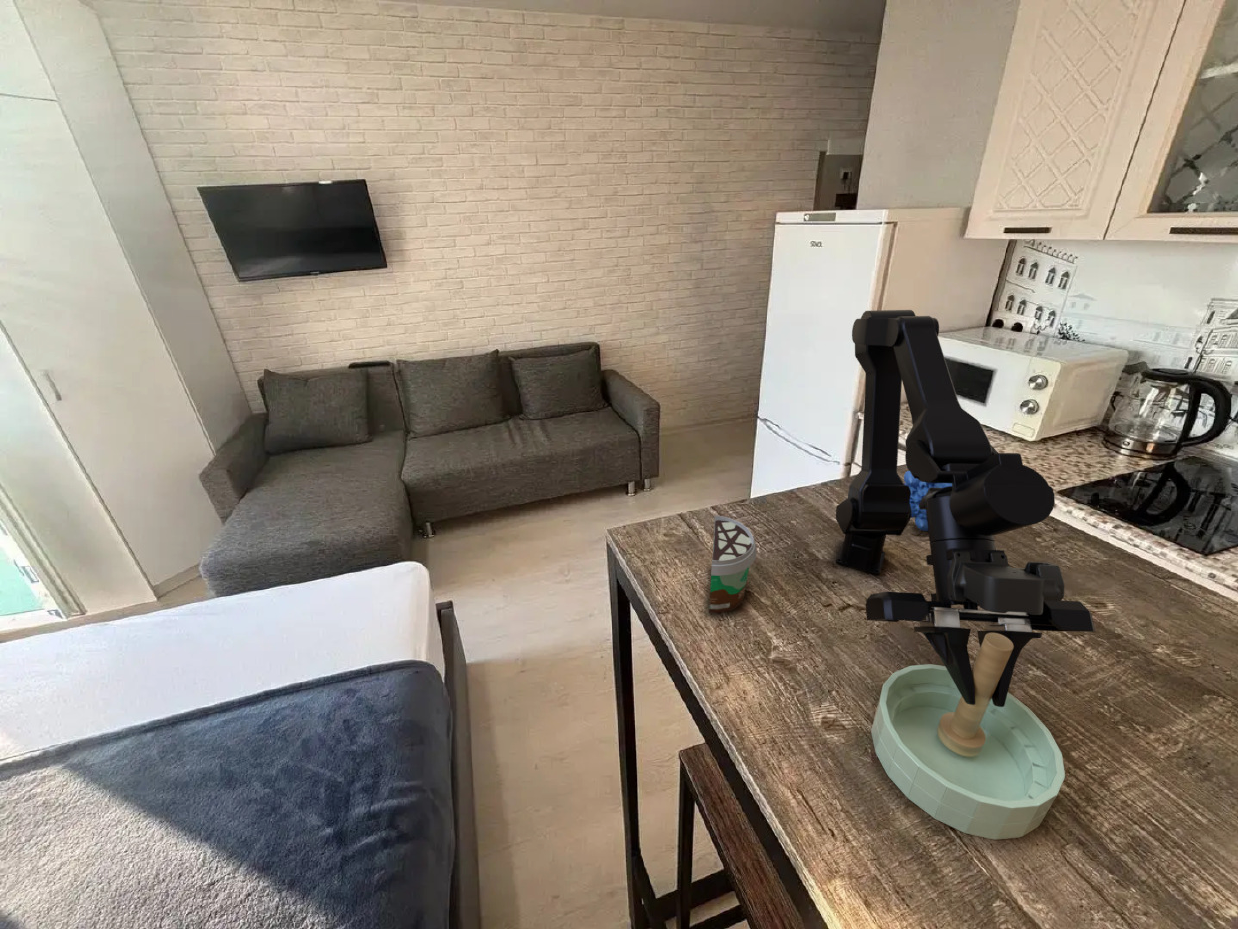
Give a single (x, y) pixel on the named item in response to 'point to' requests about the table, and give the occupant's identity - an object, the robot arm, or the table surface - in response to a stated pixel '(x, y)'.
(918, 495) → the grapes
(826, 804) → the table surface
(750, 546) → the food container
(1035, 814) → the bowl
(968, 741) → the pestle
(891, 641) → the table surface
